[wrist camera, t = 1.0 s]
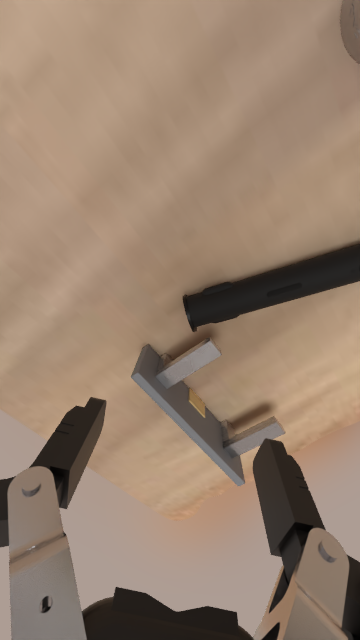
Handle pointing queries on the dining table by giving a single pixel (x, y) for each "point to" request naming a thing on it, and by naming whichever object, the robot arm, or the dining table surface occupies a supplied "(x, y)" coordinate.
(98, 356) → the dining table surface
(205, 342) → the grey u-shaped bracket
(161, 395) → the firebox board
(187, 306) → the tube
